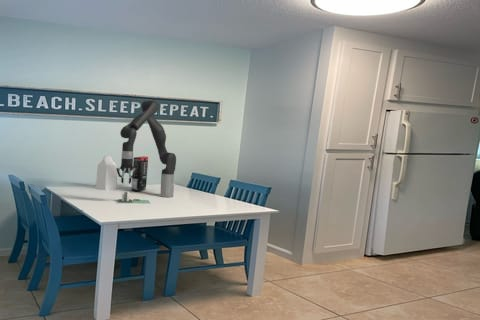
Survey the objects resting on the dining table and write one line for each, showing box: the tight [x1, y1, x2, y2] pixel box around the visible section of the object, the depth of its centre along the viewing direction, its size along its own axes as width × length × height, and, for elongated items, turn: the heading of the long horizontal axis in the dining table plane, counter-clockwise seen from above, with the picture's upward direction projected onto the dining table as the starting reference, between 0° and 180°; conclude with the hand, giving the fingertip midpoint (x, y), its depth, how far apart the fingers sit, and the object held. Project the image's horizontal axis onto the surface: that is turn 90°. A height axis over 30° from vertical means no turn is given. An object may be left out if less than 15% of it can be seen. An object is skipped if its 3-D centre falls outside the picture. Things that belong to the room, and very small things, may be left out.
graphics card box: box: [130, 156, 149, 192], centre depth 364 cm, size 17×7×27 cm, turn 172°
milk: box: [95, 155, 118, 191], centre depth 362 cm, size 12×12×26 cm
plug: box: [121, 191, 130, 201], centre depth 304 cm, size 4×4×6 cm
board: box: [115, 198, 151, 205], centre depth 305 cm, size 22×14×2 cm, turn 109°
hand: (126, 183), depth 303 cm, fingers open, 3 cm apart
